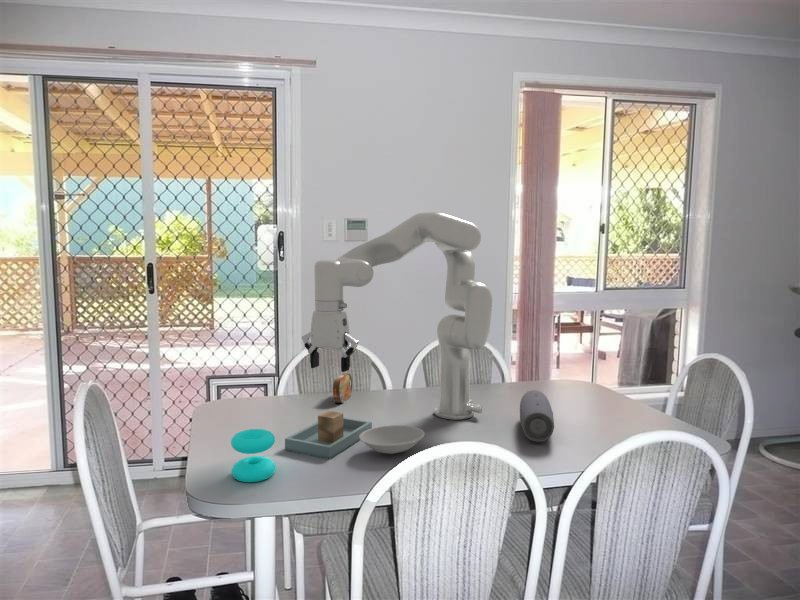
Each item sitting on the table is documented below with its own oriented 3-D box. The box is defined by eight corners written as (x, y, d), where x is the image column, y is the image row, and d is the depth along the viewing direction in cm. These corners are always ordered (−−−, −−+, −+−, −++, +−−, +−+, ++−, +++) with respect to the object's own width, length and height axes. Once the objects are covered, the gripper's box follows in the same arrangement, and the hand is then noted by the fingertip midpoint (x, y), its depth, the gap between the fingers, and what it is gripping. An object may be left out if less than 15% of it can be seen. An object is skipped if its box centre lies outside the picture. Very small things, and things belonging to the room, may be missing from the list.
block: (343, 437, 161) (343, 413, 160) (333, 443, 156) (333, 418, 156) (328, 434, 163) (328, 410, 162) (318, 440, 159) (317, 415, 158)
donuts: (282, 430, 139) (258, 444, 130) (283, 470, 140) (259, 487, 131) (247, 425, 143) (221, 438, 133) (248, 464, 144) (223, 480, 135)
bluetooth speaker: (555, 447, 156) (556, 411, 155) (520, 445, 158) (521, 409, 157) (549, 420, 178) (550, 389, 177) (518, 418, 180) (519, 387, 179)
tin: (340, 406, 192) (340, 381, 191) (331, 405, 193) (331, 380, 192) (353, 393, 207) (353, 370, 206) (344, 393, 207) (344, 370, 206)
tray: (371, 432, 167) (371, 422, 166) (330, 459, 147) (330, 447, 147) (330, 425, 173) (330, 415, 172) (285, 450, 153) (284, 438, 153)
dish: (372, 469, 141) (372, 449, 141) (350, 449, 154) (350, 431, 153) (435, 456, 149) (435, 438, 149) (409, 439, 162) (409, 421, 161)
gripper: (364, 306, 155) (364, 369, 157) (310, 303, 163) (311, 363, 165) (349, 310, 149) (350, 375, 151) (294, 306, 156) (295, 368, 158)
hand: (329, 369), depth 158 cm, fingers open, 9 cm apart
